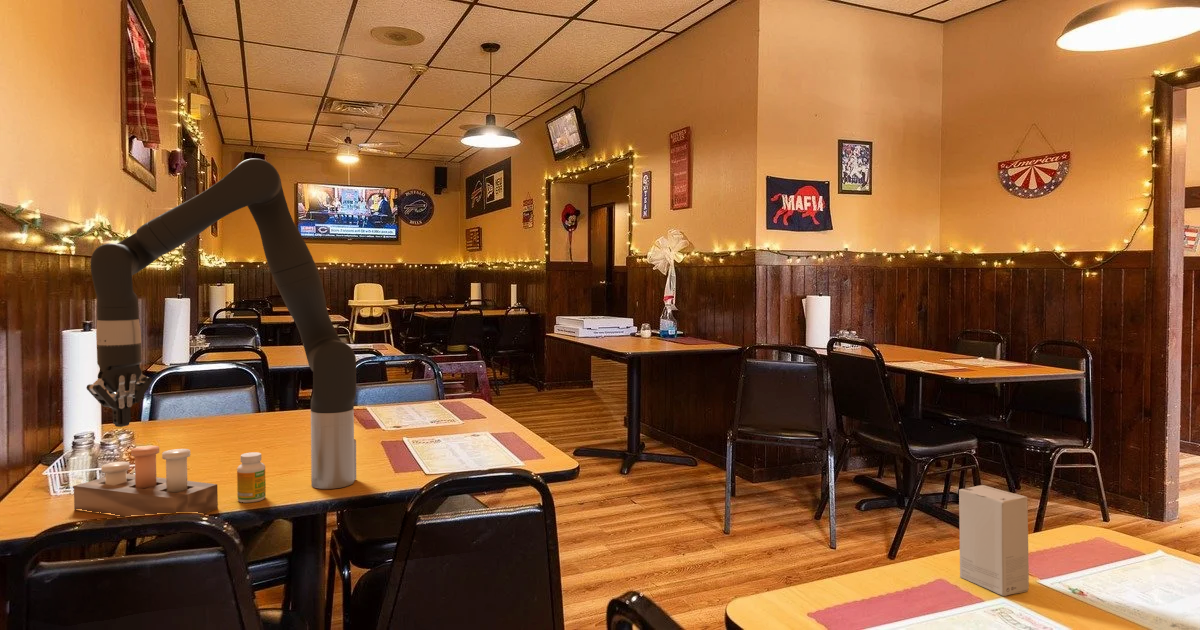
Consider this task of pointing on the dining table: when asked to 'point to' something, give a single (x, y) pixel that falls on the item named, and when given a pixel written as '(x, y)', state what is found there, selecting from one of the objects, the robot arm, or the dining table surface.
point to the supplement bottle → (251, 478)
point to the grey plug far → (115, 472)
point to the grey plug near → (176, 469)
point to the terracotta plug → (145, 466)
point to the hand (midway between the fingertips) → (122, 425)
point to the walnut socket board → (144, 498)
